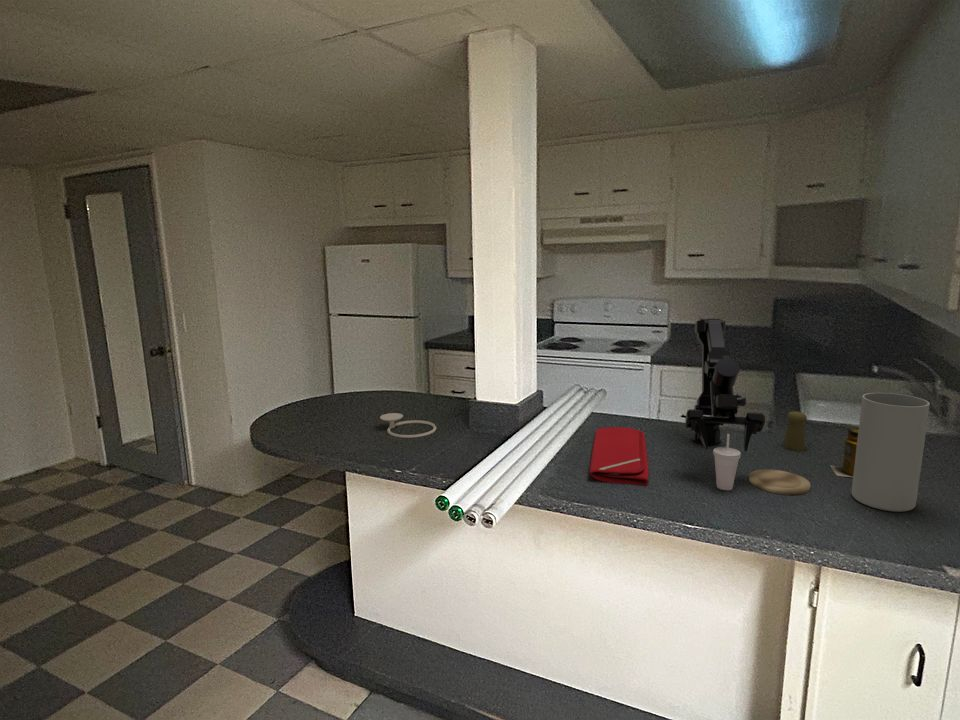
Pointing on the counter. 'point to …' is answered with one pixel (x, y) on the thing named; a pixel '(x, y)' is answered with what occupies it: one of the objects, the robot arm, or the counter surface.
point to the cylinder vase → (889, 451)
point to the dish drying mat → (620, 456)
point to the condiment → (848, 455)
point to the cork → (795, 431)
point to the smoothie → (726, 465)
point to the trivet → (779, 482)
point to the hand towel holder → (397, 416)
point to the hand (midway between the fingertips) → (726, 449)
